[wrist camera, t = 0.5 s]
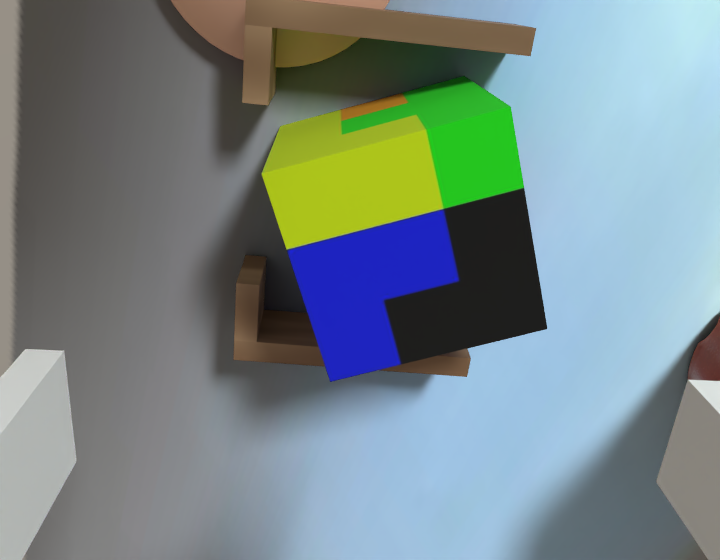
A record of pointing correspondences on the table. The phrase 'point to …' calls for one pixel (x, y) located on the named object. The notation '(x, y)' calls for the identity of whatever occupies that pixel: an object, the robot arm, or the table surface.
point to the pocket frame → (262, 18)
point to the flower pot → (706, 358)
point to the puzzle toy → (407, 226)
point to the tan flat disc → (293, 48)
